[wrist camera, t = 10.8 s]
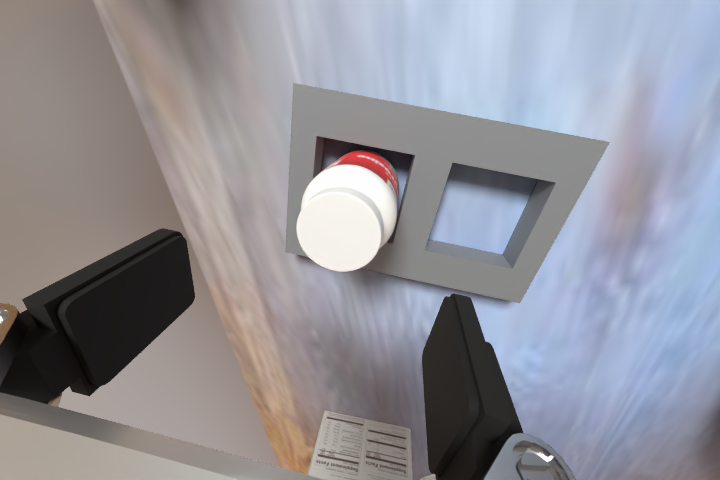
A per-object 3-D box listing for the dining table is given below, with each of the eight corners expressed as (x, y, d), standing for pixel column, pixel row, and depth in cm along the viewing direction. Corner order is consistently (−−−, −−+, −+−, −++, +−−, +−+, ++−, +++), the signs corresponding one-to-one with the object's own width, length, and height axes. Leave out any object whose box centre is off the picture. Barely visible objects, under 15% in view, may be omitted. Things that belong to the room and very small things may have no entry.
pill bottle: (412, 191, 24) (419, 249, 14) (358, 228, 26) (332, 300, 16) (370, 132, 22) (345, 150, 12) (316, 176, 25) (259, 221, 15)
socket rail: (587, 138, 20) (609, 142, 18) (510, 286, 27) (519, 303, 25) (304, 85, 21) (293, 83, 19) (294, 240, 28) (285, 252, 26)
